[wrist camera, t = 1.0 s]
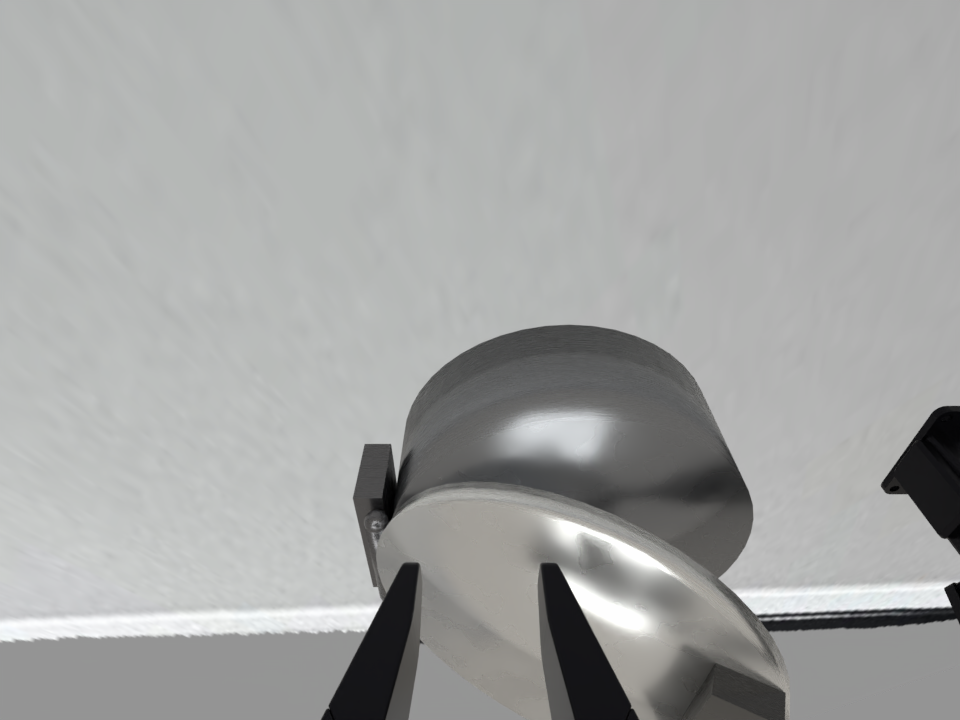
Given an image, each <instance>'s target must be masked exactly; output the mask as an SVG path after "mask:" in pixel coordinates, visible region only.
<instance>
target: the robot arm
mask: <svg viewBox="0 0 960 720" xmlns="http://www.w3.org/2000/svg"><path fill="white" fill-rule="evenodd" d="M881 488H882V489H883V490H884V492H885V493H886V494H908V495H909V497H910V498H911V499H912V501H913V502H914V503H915V505H916V506H917V507H918V509H919V510H920V511H921V513H922V514H923V515H924V517H925V518H926V519H927V521H928V522H929V523H930V525H931V526H932V527H933V529H934V530H935V531H936V533H937V534H938V535H939V536H940V537H941V538H943V539H948V540H949V542H950V543H951V544H952V546H953V547H954V548H955V550H956V551H957V552H958V554H959V555H960V406H942V407H939V408H937V409H936V410H934V411H933V412H932V413H931V415H930V416H929V417H928V419H927V420H926V422H925V423H924V424H923V426H922V427H921V429H920V430H919V431H918V433H917V434H916V436H915V437H914V438H913V440H912V441H911V443H910V444H909V445H908V447H907V448H906V450H905V451H904V452H903V454H902V455H901V456H900V458H899V459H898V461H897V462H896V463H895V465H894V466H893V468H892V469H891V470H890V472H889V473H888V475H887V476H886V477H885V479H884V480H883V482H882V483H881ZM944 590H945V593H946V595H947V597H948V599H949V602H950V604H951V606H952V609H953V611H954V613H955V615H956V618H957V620H958V622H959V624H960V582H958V583H955V582H953V583H952V584H950V585H948V586H946V587H945V588H944ZM421 607H422V574H421V566H420V564H419V563H418V562H405V563H403V564H402V565H401V567H400V569H399V571H398V572H397V574H396V576H395V578H394V580H393V582H392V584H391V586H390V588H389V590H388V592H387V594H386V596H385V597H384V599H383V601H382V603H381V605H380V607H379V609H378V611H377V613H376V615H375V617H374V619H373V620H372V622H371V624H370V626H369V628H368V630H367V632H366V634H365V636H364V638H363V640H362V642H361V644H360V645H359V647H358V649H357V651H356V653H355V655H354V657H353V659H352V661H351V663H350V665H349V667H348V668H347V670H346V672H345V674H344V676H343V678H342V680H341V682H340V684H339V686H338V688H337V690H336V692H335V693H334V695H333V697H332V699H331V701H330V703H329V705H328V706H329V708H327V709H326V710H325V712H324V714H323V716H322V718H321V720H408V719H409V713H410V707H411V701H412V695H413V689H414V683H415V677H416V671H417V664H418V657H419V646H420V627H421ZM538 607H539V626H540V645H541V657H542V664H543V671H544V677H545V683H546V689H547V695H548V701H549V707H550V713H551V719H552V720H639V718H638V716H637V714H636V712H635V710H634V709H633V708H631V707H632V705H631V703H630V701H629V699H628V697H627V695H626V693H625V691H624V690H623V688H622V686H621V684H620V682H619V680H618V678H617V676H616V674H615V672H614V670H613V668H612V666H611V665H610V663H609V661H608V659H607V657H606V655H605V653H604V651H603V649H602V647H601V645H600V643H599V642H598V640H597V638H596V636H595V634H594V632H593V630H592V628H591V626H590V624H589V622H588V620H587V618H586V617H585V615H584V613H583V611H582V609H581V607H580V605H579V603H578V601H577V599H576V597H575V595H574V594H573V592H572V590H571V588H570V586H569V584H568V582H567V580H566V578H565V576H564V574H563V572H562V571H561V569H560V567H559V565H558V564H557V563H555V562H542V563H541V564H540V567H539V575H538Z"/></svg>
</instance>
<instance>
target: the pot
mask: <svg viewBox="0 0 960 720" xmlns="http://www.w3.org/2000/svg"><path fill="white" fill-rule="evenodd" d="M467 481H473V482H498V483H505V484H513V485H521V486H525V487H530V488H534V489H539V490H543V491H548V492H552V493H555V494H558V495H562V496H565V497H568V498H571V499H574V500H577V501H580V502H584V503H586V504H589V505H591V506H594V507H596V508H599V509H601V510H603V511H606V512H608V513H611V514H613V515H616V516H618V517H620V518H622V519H624V520H626V521H628V522H630V523H632V524H634V525H636V526H638V527H640V528H642V529H644V530H646V531H648V532H650V533H652V534H654V535H655V536H657V537H659V538H660V539H662V540H664V541H665V542H667V543H669V544H670V545H672V546H674V547H675V548H677V549H679V550H680V551H682V552H683V553H685V554H686V555H687V556H689V557H690V558H692V559H693V560H694V561H696V562H697V563H699V564H700V565H701V566H703V567H704V568H706V569H707V570H708V571H710V572H711V573H712V574H713V575H715V576H716V577H717V578H719V577H720V576H722V575H723V574H724V573H725V572H726V571H727V570H728V569H729V568H730V567H731V566H732V564H733V563H734V562H735V561H736V560H737V559H738V557H739V555H740V554H741V552H742V551H743V549H744V548H745V546H746V544H747V541H748V539H749V536H750V534H751V530H752V525H753V504H752V500H751V497H750V493H749V490H748V488H747V486H746V484H745V482H744V480H743V478H742V475H741V473H740V471H739V469H738V467H737V465H736V463H735V461H734V459H733V456H732V454H731V452H730V450H729V448H728V446H727V444H726V442H725V440H724V437H723V435H722V433H721V431H720V429H719V427H718V425H717V423H716V421H715V418H714V416H713V414H712V412H711V410H710V408H709V406H708V404H707V402H706V399H705V397H704V395H703V393H702V391H701V389H700V387H699V386H698V384H697V382H696V380H695V378H694V377H693V376H692V375H691V374H690V372H689V371H688V370H687V369H686V367H685V366H684V365H683V364H682V363H680V362H679V361H678V360H677V359H676V358H675V357H673V356H672V355H671V354H670V353H668V352H666V351H665V350H663V349H662V348H660V347H658V346H657V345H655V344H653V343H651V342H649V341H646V340H644V339H642V338H639V337H637V336H635V335H631V334H628V333H624V332H621V331H618V330H614V329H608V328H602V327H596V326H585V325H553V326H542V327H535V328H529V329H523V330H519V331H515V332H512V333H508V334H504V335H501V336H498V337H495V338H493V339H490V340H488V341H485V342H483V343H480V344H478V345H476V346H474V347H472V348H471V349H469V350H467V351H465V352H463V353H461V354H460V355H458V356H457V357H455V358H454V359H453V360H451V361H450V362H448V363H447V364H445V365H444V366H443V367H442V368H441V369H440V370H439V371H438V372H436V373H435V374H434V375H433V376H432V377H431V378H430V379H429V381H428V382H427V383H426V384H425V385H424V387H423V388H422V389H421V390H420V392H419V393H418V395H417V397H416V399H415V400H414V402H413V404H412V406H411V409H410V411H409V414H408V417H407V420H406V426H405V432H404V439H403V446H402V453H401V459H400V466H399V473H398V480H397V481H396V474H395V467H394V460H393V453H392V446H391V444H365V445H364V449H363V454H362V458H361V463H360V467H359V472H358V476H357V481H356V486H355V490H354V495H353V502H354V506H355V510H356V515H357V519H358V523H359V528H360V532H361V536H362V541H363V545H364V549H365V554H366V558H367V562H368V567H369V571H370V575H371V580H372V584H373V587H378V586H377V581H376V577H375V572H374V567H373V563H372V558H371V554H370V549H369V545H368V540H367V536H366V531H365V527H364V519H365V517H366V515H367V514H368V513H369V512H370V511H372V510H375V509H379V510H382V511H384V512H385V513H386V514H387V516H388V519H389V522H390V521H391V519H392V518H393V516H394V515H395V513H396V512H397V511H398V510H399V508H400V507H401V506H402V504H403V503H405V502H406V501H407V500H408V499H410V498H411V497H412V496H414V495H415V494H418V493H420V492H422V491H424V490H426V489H428V488H432V487H436V486H439V485H443V484H448V483H458V482H467Z"/></svg>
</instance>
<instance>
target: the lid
mask: <svg viewBox="0 0 960 720" xmlns="http://www.w3.org/2000/svg"><path fill="white" fill-rule="evenodd" d="M364 527H365V531H366V536H367V540H368V545H369V549H370V554H371V558H372V563H373V567H374V572H375V577H376V581H377V586H378V590H379V595H380V598H381V599H382V600H383V599H384V597H385V596H386V594H387V592H388V590H389V588H390V586H391V584H392V582H393V580H394V578H395V576H396V574H397V572H398V571H399V569H400V567H401V565H402V564H403V563H405V562H418V563H419V564H420V566H421V574H422V607H421V627H420V640H421V641H422V642H423V643H424V644H425V645H426V646H427V647H428V648H429V649H430V650H431V651H432V652H433V653H434V654H435V655H436V656H438V657H439V658H440V659H441V660H442V661H443V662H444V663H445V664H446V665H448V666H449V667H450V668H451V669H453V670H454V671H455V672H456V673H458V674H459V675H460V676H461V677H462V678H464V679H465V680H467V681H468V682H469V683H471V684H472V685H473V686H475V687H476V688H477V689H479V690H480V691H482V692H483V693H485V694H486V695H488V696H489V697H491V698H492V699H494V700H495V701H497V702H498V703H500V704H502V705H503V706H505V707H507V708H508V709H510V710H512V711H513V712H515V713H517V714H518V715H520V716H522V717H524V718H526V719H528V720H552V719H551V713H550V707H549V701H548V695H547V689H546V683H545V677H544V671H543V664H542V657H541V645H540V626H539V607H538V575H539V567H540V564H541V563H542V562H555V563H557V564H558V565H559V567H560V569H561V571H562V572H563V574H564V576H565V578H566V580H567V582H568V584H569V586H570V588H571V590H572V592H573V594H574V595H575V597H576V599H577V601H578V603H579V605H580V607H581V609H582V611H583V613H584V615H585V617H586V618H587V620H588V622H589V624H590V626H591V628H592V630H593V632H594V634H595V636H596V638H597V640H598V642H599V643H600V645H601V647H602V649H603V651H604V653H605V655H606V657H607V659H608V661H609V663H610V665H611V666H612V668H613V670H614V672H615V674H616V676H617V678H618V680H619V682H620V684H621V686H622V688H623V690H624V691H625V693H626V695H627V697H628V699H629V701H630V703H631V705H632V707H631V708H633V709H634V710H635V712H636V714H637V716H638V718H639V720H790V679H789V675H788V672H787V668H786V665H785V661H784V659H783V657H782V655H781V653H780V651H779V649H778V647H777V645H776V643H775V641H774V639H773V638H772V636H771V635H770V634H769V632H768V631H767V629H766V628H765V627H764V625H763V624H762V623H761V621H760V620H759V618H758V617H757V616H756V615H755V614H754V613H753V612H752V611H751V610H750V608H749V607H748V606H747V605H746V604H745V603H744V602H743V601H742V600H741V599H740V598H739V597H738V596H737V595H736V594H735V593H734V592H733V591H732V590H731V589H730V588H728V587H727V586H726V585H725V584H724V583H723V582H721V581H720V580H719V579H718V578H717V577H716V576H715V575H713V574H712V573H711V572H710V571H708V570H707V569H706V568H704V567H703V566H701V565H700V564H699V563H697V562H696V561H694V560H693V559H692V558H690V557H689V556H687V555H686V554H685V553H683V552H682V551H680V550H679V549H677V548H675V547H674V546H672V545H670V544H669V543H667V542H665V541H664V540H662V539H660V538H659V537H657V536H655V535H654V534H652V533H650V532H648V531H646V530H644V529H642V528H640V527H638V526H636V525H634V524H632V523H630V522H628V521H626V520H624V519H622V518H620V517H618V516H616V515H613V514H611V513H608V512H606V511H603V510H601V509H599V508H596V507H594V506H591V505H589V504H586V503H584V502H580V501H577V500H574V499H571V498H568V497H565V496H562V495H558V494H555V493H552V492H548V491H543V490H539V489H534V488H530V487H525V486H521V485H513V484H505V483H498V482H473V481H467V482H458V483H448V484H443V485H439V486H436V487H432V488H428V489H426V490H424V491H422V492H420V493H418V494H415V495H414V496H412V497H411V498H410V499H408V500H407V501H406V502H405V503H403V504H402V506H401V507H400V508H399V510H398V511H397V512H396V513H395V515H394V516H393V518H392V519H391V521H390V522H389V519H388V516H387V514H386V513H385V512H384V511H382V510H379V509H375V510H372V511H370V512H369V513H368V514H367V515H366V517H365V519H364Z"/></svg>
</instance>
